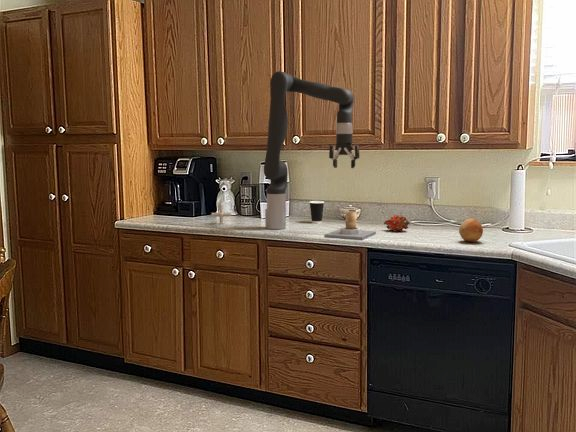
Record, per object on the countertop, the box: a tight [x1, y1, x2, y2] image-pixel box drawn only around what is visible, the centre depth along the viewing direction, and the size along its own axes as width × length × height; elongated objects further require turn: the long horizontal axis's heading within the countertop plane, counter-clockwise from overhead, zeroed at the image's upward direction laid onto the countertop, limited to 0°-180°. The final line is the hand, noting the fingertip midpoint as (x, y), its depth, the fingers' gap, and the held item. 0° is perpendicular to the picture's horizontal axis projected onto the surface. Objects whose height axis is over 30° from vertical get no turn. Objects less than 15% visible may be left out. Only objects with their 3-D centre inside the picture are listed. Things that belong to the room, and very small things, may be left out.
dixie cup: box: [309, 200, 325, 224], centre depth 314 cm, size 8×8×11 cm
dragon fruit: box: [383, 214, 410, 232], centre depth 285 cm, size 8×8×12 cm
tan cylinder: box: [345, 209, 357, 230], centre depth 273 cm, size 5×5×10 cm
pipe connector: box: [211, 204, 232, 225], centre depth 312 cm, size 10×10×10 cm
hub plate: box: [324, 226, 377, 241], centre depth 273 cm, size 18×18×3 cm
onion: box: [458, 217, 484, 243], centre depth 254 cm, size 10×10×10 cm
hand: (344, 168), depth 281 cm, fingers open, 8 cm apart
